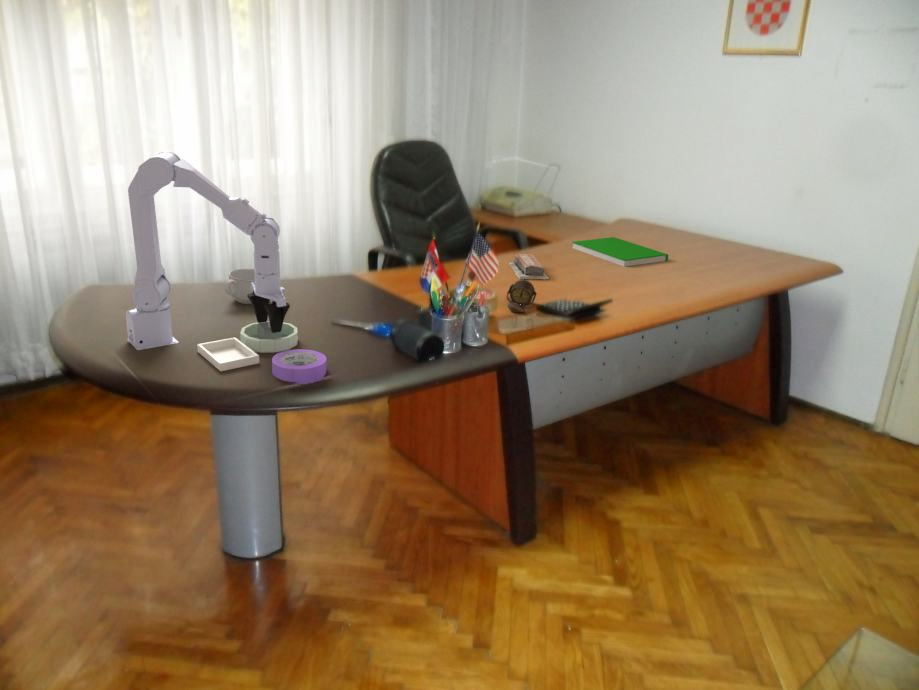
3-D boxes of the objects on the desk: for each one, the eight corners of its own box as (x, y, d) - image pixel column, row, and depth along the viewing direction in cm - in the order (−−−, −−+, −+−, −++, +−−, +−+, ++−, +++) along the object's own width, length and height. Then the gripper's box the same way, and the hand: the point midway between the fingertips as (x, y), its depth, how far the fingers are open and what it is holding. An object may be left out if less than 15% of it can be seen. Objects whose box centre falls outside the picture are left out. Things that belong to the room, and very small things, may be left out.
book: (623, 268, 268) (624, 260, 267) (571, 249, 290) (572, 241, 289) (667, 261, 280) (668, 254, 279) (613, 244, 302) (614, 236, 300)
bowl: (256, 358, 173) (255, 344, 172) (232, 340, 182) (232, 327, 181) (307, 347, 181) (307, 334, 179) (282, 331, 190) (282, 318, 189)
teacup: (254, 292, 217) (253, 265, 214) (278, 301, 211) (277, 273, 208) (211, 302, 207) (210, 274, 204) (235, 312, 201) (234, 283, 198)
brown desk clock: (549, 288, 220) (521, 274, 224) (526, 293, 210) (498, 278, 214) (540, 310, 223) (513, 295, 227) (518, 316, 213) (490, 301, 217)
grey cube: (265, 346, 179) (264, 328, 177) (257, 340, 181) (257, 323, 180) (280, 343, 181) (280, 325, 179) (273, 337, 184) (272, 320, 182)
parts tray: (220, 373, 164) (219, 363, 163) (198, 354, 173) (197, 344, 173) (259, 365, 169) (259, 355, 169) (235, 346, 179) (235, 337, 178)
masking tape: (288, 360, 173) (288, 345, 172) (335, 369, 171) (335, 353, 169) (262, 380, 163) (261, 363, 162) (311, 389, 160) (311, 372, 159)
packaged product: (509, 252, 260) (537, 252, 262) (508, 265, 262) (536, 266, 264) (520, 266, 244) (550, 267, 245) (519, 280, 246) (548, 281, 247)
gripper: (297, 277, 172) (298, 333, 177) (269, 262, 182) (271, 315, 187) (268, 281, 168) (270, 338, 173) (241, 265, 178) (244, 320, 183)
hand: (269, 327), depth 180 cm, fingers open, 7 cm apart
